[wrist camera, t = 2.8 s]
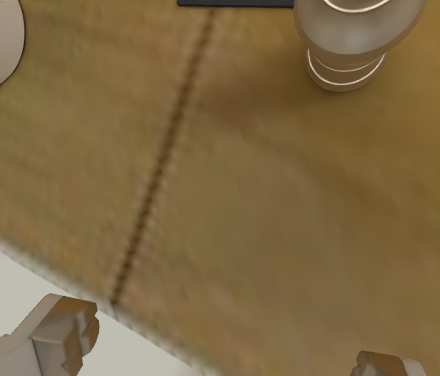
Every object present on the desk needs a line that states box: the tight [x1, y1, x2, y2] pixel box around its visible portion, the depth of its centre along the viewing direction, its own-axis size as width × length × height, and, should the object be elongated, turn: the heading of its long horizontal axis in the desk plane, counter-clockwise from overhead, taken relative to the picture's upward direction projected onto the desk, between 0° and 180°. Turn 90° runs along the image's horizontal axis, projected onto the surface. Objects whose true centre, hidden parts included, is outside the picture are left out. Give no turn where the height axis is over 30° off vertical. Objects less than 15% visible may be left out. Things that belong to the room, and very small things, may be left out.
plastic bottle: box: [293, 0, 427, 92], centre depth 21 cm, size 6×7×20 cm
